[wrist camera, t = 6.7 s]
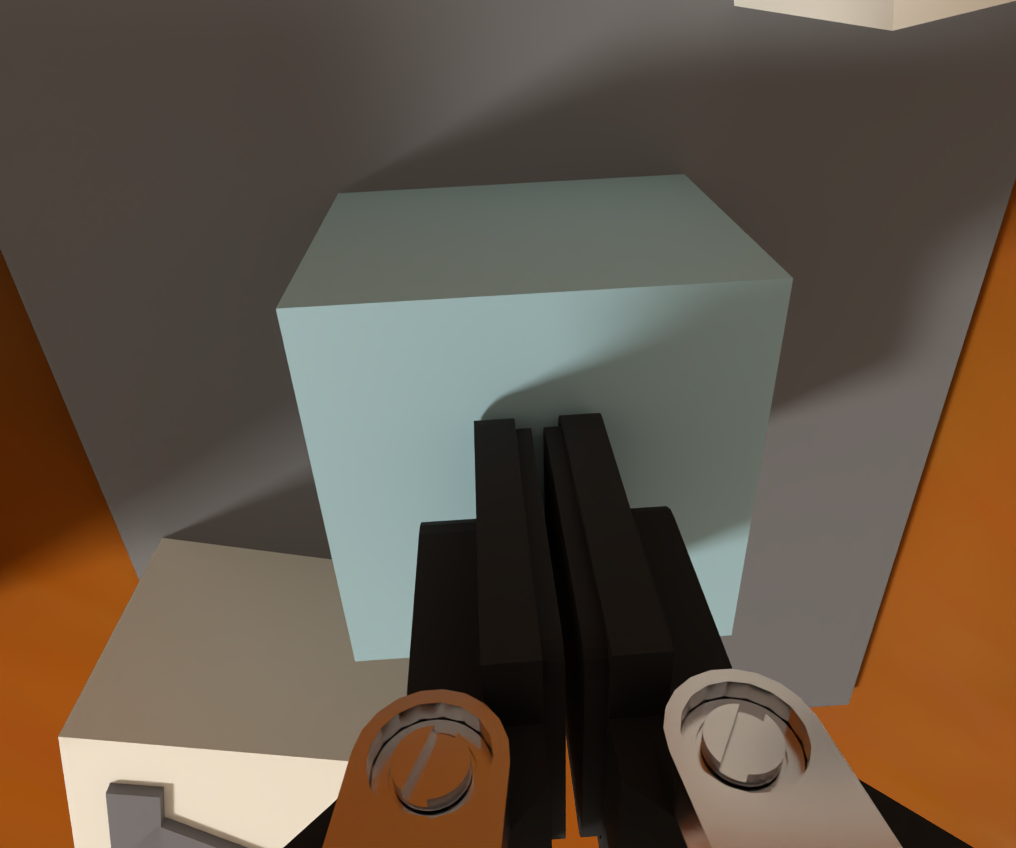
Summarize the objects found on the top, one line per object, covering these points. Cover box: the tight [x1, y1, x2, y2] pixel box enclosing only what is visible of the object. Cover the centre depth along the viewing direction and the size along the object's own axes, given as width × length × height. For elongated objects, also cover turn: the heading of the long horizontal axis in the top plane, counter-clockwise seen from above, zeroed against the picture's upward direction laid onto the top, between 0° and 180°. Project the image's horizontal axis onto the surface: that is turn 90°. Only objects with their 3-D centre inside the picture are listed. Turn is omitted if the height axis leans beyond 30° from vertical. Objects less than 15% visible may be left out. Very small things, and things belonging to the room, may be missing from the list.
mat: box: [0, 0, 1016, 707], centre depth 15 cm, size 18×24×1 cm
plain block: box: [276, 174, 793, 661], centre depth 12 cm, size 6×6×5 cm
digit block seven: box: [58, 538, 409, 848], centre depth 16 cm, size 6×6×5 cm
